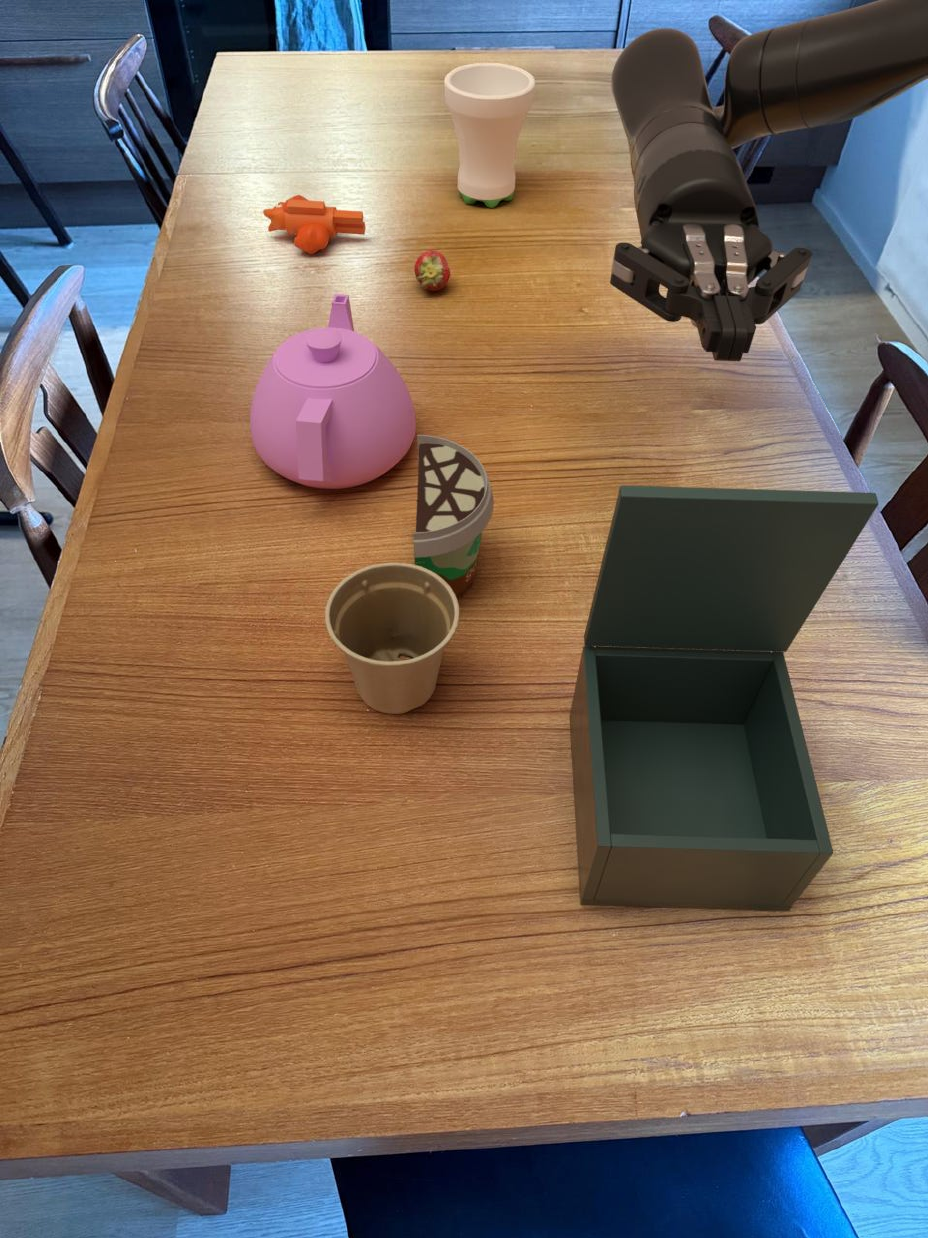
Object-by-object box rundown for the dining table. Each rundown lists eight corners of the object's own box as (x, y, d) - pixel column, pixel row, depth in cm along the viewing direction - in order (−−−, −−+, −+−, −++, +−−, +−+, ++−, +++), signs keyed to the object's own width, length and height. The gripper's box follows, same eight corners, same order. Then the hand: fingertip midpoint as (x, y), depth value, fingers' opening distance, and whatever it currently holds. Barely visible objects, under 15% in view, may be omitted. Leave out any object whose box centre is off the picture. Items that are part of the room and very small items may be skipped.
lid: (879, 503, 47) (876, 492, 48) (621, 496, 47) (620, 484, 48) (786, 652, 60) (784, 642, 61) (584, 646, 60) (583, 636, 61)
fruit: (453, 274, 107) (454, 234, 103) (447, 301, 104) (448, 260, 100) (418, 271, 108) (417, 231, 104) (411, 299, 104) (410, 258, 100)
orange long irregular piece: (364, 189, 108) (266, 184, 109) (355, 238, 106) (255, 232, 106) (368, 221, 113) (275, 216, 114) (361, 268, 110) (265, 262, 111)
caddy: (788, 911, 58) (834, 853, 52) (580, 905, 58) (597, 845, 52) (749, 721, 68) (783, 651, 61) (569, 716, 68) (583, 645, 61)
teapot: (407, 527, 80) (402, 418, 71) (234, 520, 80) (206, 411, 71) (424, 378, 94) (421, 272, 85) (276, 373, 94) (257, 266, 85)
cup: (544, 197, 120) (554, 81, 109) (484, 224, 115) (488, 105, 104) (487, 168, 125) (491, 54, 114) (427, 193, 120) (425, 76, 109)
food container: (491, 625, 73) (497, 539, 65) (416, 624, 73) (413, 538, 65) (488, 519, 81) (492, 431, 73) (420, 518, 81) (417, 430, 73)
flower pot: (449, 628, 73) (450, 555, 66) (466, 726, 67) (468, 656, 60) (333, 640, 72) (321, 567, 65) (339, 740, 66) (328, 671, 59)
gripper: (770, 256, 65) (825, 405, 54) (589, 251, 65) (607, 398, 54) (802, 150, 59) (870, 292, 49) (603, 144, 60) (626, 284, 49)
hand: (731, 347), depth 51 cm, fingers closed
